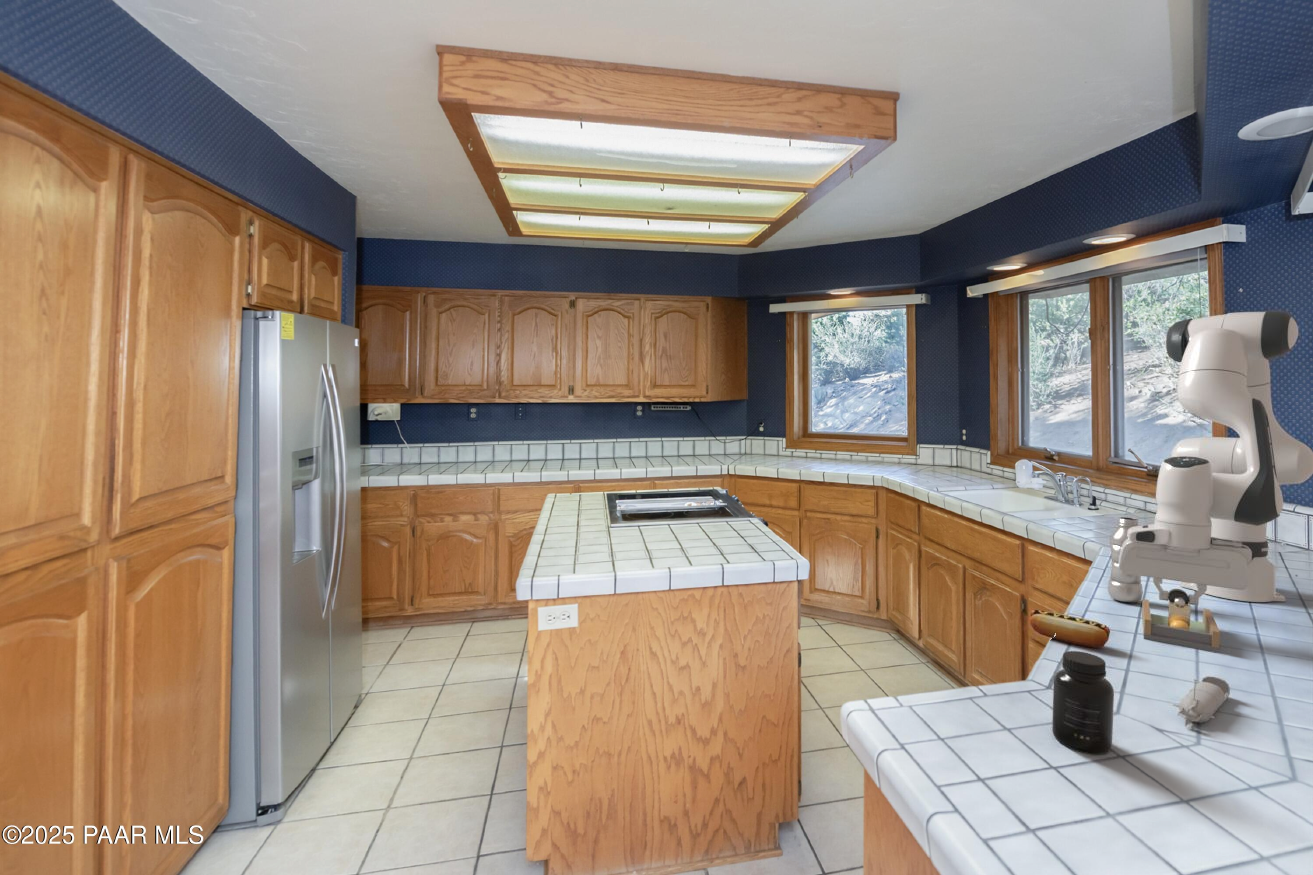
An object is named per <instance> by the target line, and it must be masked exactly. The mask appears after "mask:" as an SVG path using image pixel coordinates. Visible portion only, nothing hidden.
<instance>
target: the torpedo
mask: <svg viewBox="0 0 1313 875" xmlns="http://www.w3.org/2000/svg"><path fill="white" fill-rule="evenodd" d="M1193 681H1194V686H1193V687H1192V688H1191V689H1190V690H1189V692H1188V693H1187V694H1185V696H1184V697H1183V698H1181V700H1180V702H1178V704H1175V703H1173V704H1172V706H1174V707H1176V708H1178V710H1179V711H1178V713H1177V714H1176V716H1178V717H1180V718H1181V717H1182V718H1185V720H1184V721H1185V724H1184V726H1185V727H1187V726H1188V725H1191V723H1192V722H1193V723H1199V724H1203V723H1206V722H1208V721H1209V720H1210V719H1215V718H1216V717H1215V716H1213V715H1214V714H1215V713H1216V712H1217V711H1218V710H1219V708H1220V707H1221V706H1223V704H1224V703H1225V701H1227V699H1228V698H1229V696H1230V693H1231V691H1230V690H1231V689H1230V686H1229V683H1228V682H1227V681H1226V680H1225V679H1223V678H1220V677H1217V676H1212V675H1211V676H1208V675H1206V676H1205V677H1203V678H1202V680H1201V681H1200V682H1198V683H1197V679H1195V678H1194V679H1193Z"/></svg>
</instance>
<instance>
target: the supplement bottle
mask: <svg viewBox="0 0 1313 875" xmlns="http://www.w3.org/2000/svg"><path fill="white" fill-rule="evenodd" d="M1061 667H1062V668H1063V669H1060V670H1058V671H1057V672H1056V673H1055V674H1054V675H1053V676H1054V677H1053V689H1052V692H1053V694H1052V695H1053V697H1052V720H1051V721H1052V727H1051V728H1052V729H1051V730H1052V735H1053V736H1054V738H1055V739H1056V740H1057V741H1058V742H1059V743H1060V744H1062V745H1064V747H1065V746H1066V747H1067V748H1069V749H1072V750H1074V751H1078V752H1081V753H1084V754H1090V755H1103V754H1107V753H1109V752H1110V751H1111V749H1112V746H1113V733H1114V732H1113V731H1114V730H1113V729H1114V705H1115V704H1114V700H1115V691H1114V687H1113V685H1112V684H1111V683H1110V681H1109V680H1108V679H1106V676H1107V671H1106V661H1105V660H1104V659H1103V658H1102V657H1100V656H1098V655H1096V654H1092V653H1088V652H1084V651H1079V650H1078V651H1077V650H1068V651H1065V652H1063V654H1062V662H1061Z"/></svg>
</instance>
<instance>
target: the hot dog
mask: <svg viewBox="0 0 1313 875" xmlns="http://www.w3.org/2000/svg"><path fill="white" fill-rule="evenodd" d="M1029 624H1030V626H1031V628H1032V629H1033V630H1034V631H1035V632H1036V633H1038V634H1039V635H1042V636H1045V637H1048V638H1051V639H1053V637H1054V635H1055V633H1056V636H1055V637H1054V640H1058V641H1061V642H1064V643H1070V644H1073V645H1078V646H1083V647H1089V648H1093V649H1094V648H1103V647H1104V646H1105V645H1106V644H1107V642H1108V641H1109V638H1110V633H1111V629H1110V627H1109V626H1107V625H1105V624H1103V623H1099V622H1098V621H1094V620H1090V619H1085V618H1081V617H1078V616H1073V615H1069V614H1064V613H1061V612H1060V613H1059V612H1053V611H1050V610H1038V609H1034V610H1031V612H1030V618H1029Z"/></svg>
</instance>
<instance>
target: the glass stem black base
mask: <svg viewBox="0 0 1313 875" xmlns="http://www.w3.org/2000/svg"><path fill="white" fill-rule="evenodd" d="M1168 592H1169V596H1168V598H1169V600H1168V615H1167V617H1168V626H1170V624H1171V622H1173V621H1175V620H1181V621H1183V622H1185V623H1186V624H1187V625H1188V626H1189V628H1190V620H1191V610H1192V609H1191V608H1192V607H1191V606H1192V605H1191V604H1189V598H1188V595H1189V594H1188V593H1187V592H1186V591H1185V590H1183V589H1180V588H1171V590H1168Z"/></svg>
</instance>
